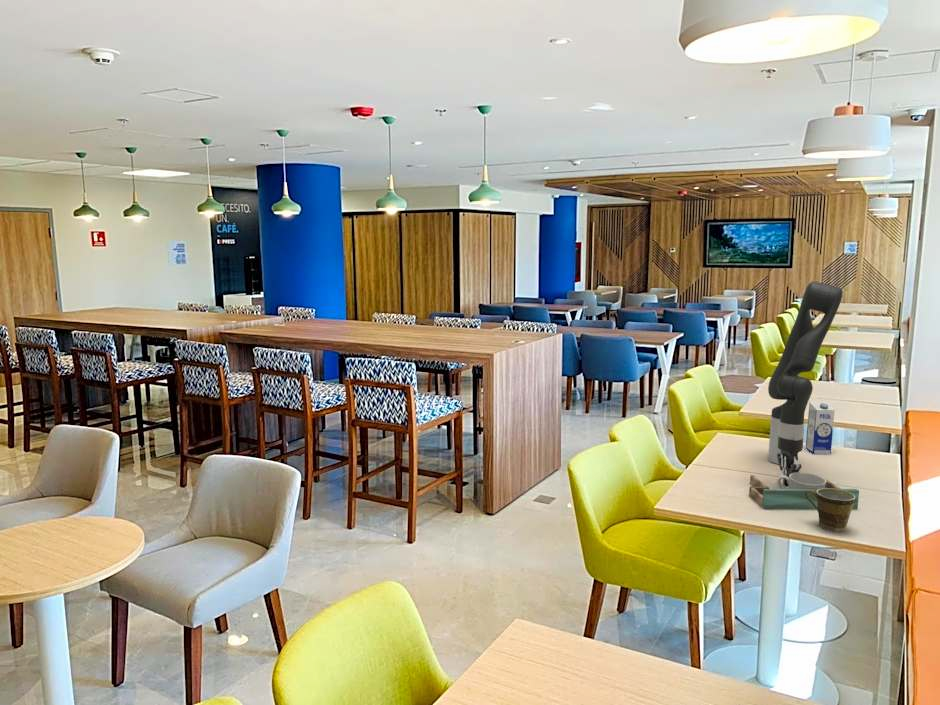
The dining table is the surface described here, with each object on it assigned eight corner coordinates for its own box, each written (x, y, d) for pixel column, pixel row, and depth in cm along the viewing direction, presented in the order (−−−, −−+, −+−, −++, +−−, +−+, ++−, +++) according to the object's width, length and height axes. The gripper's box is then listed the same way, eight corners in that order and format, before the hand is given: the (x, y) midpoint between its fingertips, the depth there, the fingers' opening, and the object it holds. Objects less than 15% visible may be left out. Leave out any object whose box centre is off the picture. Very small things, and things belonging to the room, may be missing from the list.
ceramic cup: (856, 526, 199) (859, 493, 197) (847, 537, 191) (850, 503, 190) (808, 514, 207) (810, 483, 206) (798, 524, 200) (800, 491, 198)
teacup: (826, 499, 220) (828, 475, 219) (822, 510, 211) (824, 485, 210) (779, 491, 227) (781, 468, 226) (773, 501, 218) (775, 477, 217)
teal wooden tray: (735, 483, 234) (736, 466, 233) (819, 483, 234) (821, 467, 234) (764, 509, 212) (765, 490, 211) (857, 509, 212) (859, 490, 211)
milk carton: (822, 449, 274) (827, 401, 271) (831, 454, 267) (835, 405, 264) (804, 449, 274) (808, 400, 271) (812, 454, 267) (816, 404, 264)
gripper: (770, 430, 232) (767, 479, 234) (788, 441, 218) (784, 493, 221) (792, 430, 232) (788, 479, 234) (812, 441, 219) (808, 493, 221)
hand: (787, 485), depth 228 cm, fingers closed
